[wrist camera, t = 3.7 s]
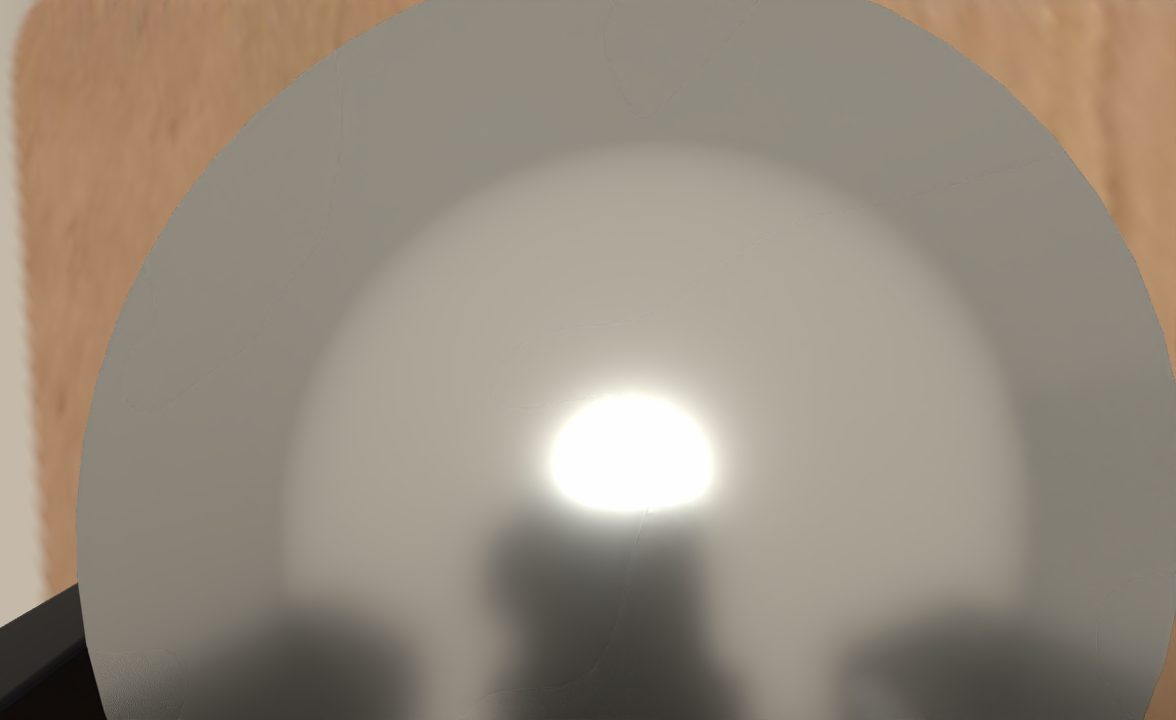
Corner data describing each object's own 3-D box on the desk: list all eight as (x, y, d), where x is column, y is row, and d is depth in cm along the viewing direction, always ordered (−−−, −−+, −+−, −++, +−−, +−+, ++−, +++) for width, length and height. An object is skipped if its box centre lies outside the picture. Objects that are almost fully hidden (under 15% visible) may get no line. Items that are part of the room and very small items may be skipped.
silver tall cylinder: (826, 765, 16) (947, 1388, 3) (601, 661, 17) (-102, 728, 4) (908, 532, 16) (1335, 91, 3) (686, 448, 18) (348, -128, 4)
